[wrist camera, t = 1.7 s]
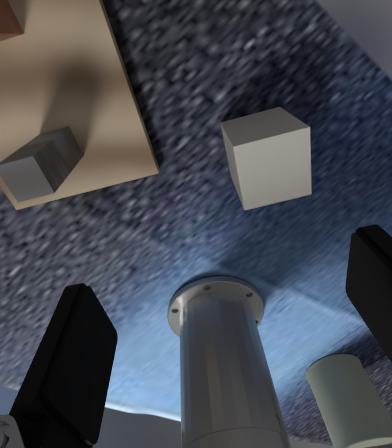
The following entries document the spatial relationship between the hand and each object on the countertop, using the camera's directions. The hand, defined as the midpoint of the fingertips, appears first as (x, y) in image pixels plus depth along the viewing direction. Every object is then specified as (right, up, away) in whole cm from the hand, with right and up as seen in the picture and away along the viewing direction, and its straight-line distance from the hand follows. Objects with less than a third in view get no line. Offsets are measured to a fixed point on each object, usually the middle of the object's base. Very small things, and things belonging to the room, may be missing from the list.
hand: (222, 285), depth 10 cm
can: (+22, -22, +38) cm, 49 cm away
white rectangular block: (+4, +10, +16) cm, 19 cm away
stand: (-13, +13, +12) cm, 22 cm away
